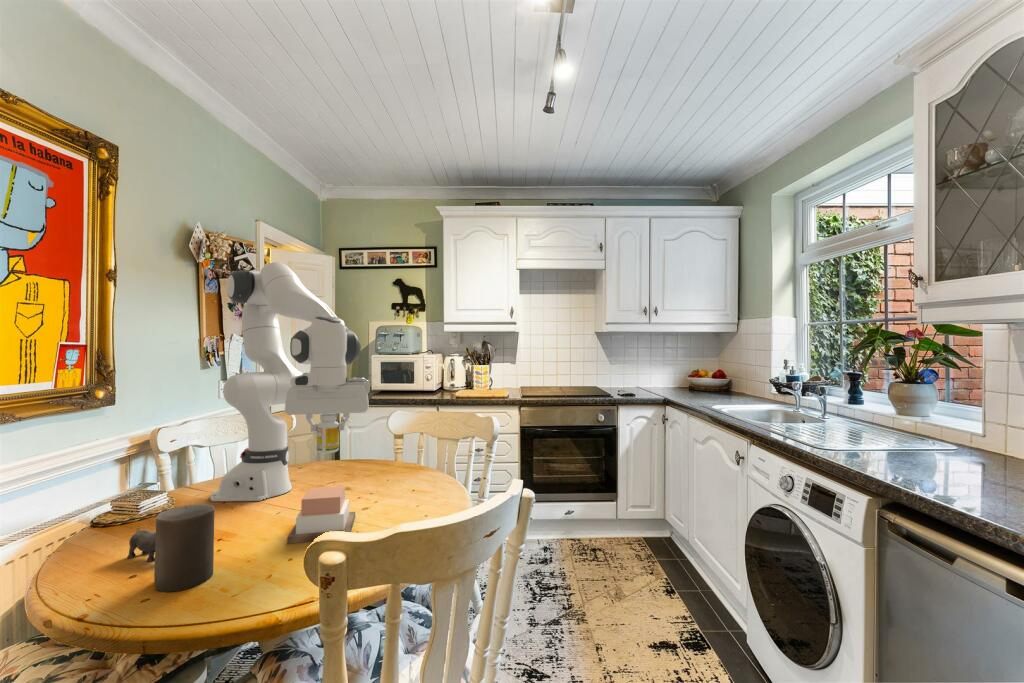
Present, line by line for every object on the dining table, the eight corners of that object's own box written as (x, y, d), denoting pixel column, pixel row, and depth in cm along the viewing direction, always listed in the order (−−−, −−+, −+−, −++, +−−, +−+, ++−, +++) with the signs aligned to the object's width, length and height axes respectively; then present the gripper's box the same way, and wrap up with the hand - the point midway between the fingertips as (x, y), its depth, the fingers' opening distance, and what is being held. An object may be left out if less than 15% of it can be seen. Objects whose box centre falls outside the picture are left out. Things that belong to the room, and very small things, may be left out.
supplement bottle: (313, 453, 114) (313, 416, 114) (322, 448, 119) (322, 413, 119) (334, 453, 114) (334, 416, 114) (342, 449, 119) (342, 413, 119)
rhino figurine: (172, 566, 95) (172, 538, 95) (122, 559, 98) (123, 532, 98) (190, 558, 99) (190, 531, 99) (141, 551, 102) (142, 524, 102)
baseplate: (287, 543, 107) (287, 537, 107) (300, 521, 120) (300, 515, 120) (349, 538, 110) (349, 532, 110) (355, 517, 123) (355, 511, 123)
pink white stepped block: (295, 534, 108) (296, 501, 108) (305, 517, 119) (305, 487, 119) (343, 530, 111) (344, 497, 111) (348, 514, 122) (349, 484, 122)
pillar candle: (200, 589, 86) (202, 511, 87) (142, 595, 84) (144, 515, 85) (221, 566, 96) (223, 496, 96) (170, 570, 94) (172, 498, 94)
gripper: (370, 376, 122) (370, 427, 122) (289, 377, 117) (289, 430, 117) (369, 378, 116) (368, 431, 116) (283, 379, 111) (282, 434, 111)
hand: (328, 430), depth 116 cm, fingers closed on supplement bottle, 5 cm apart
